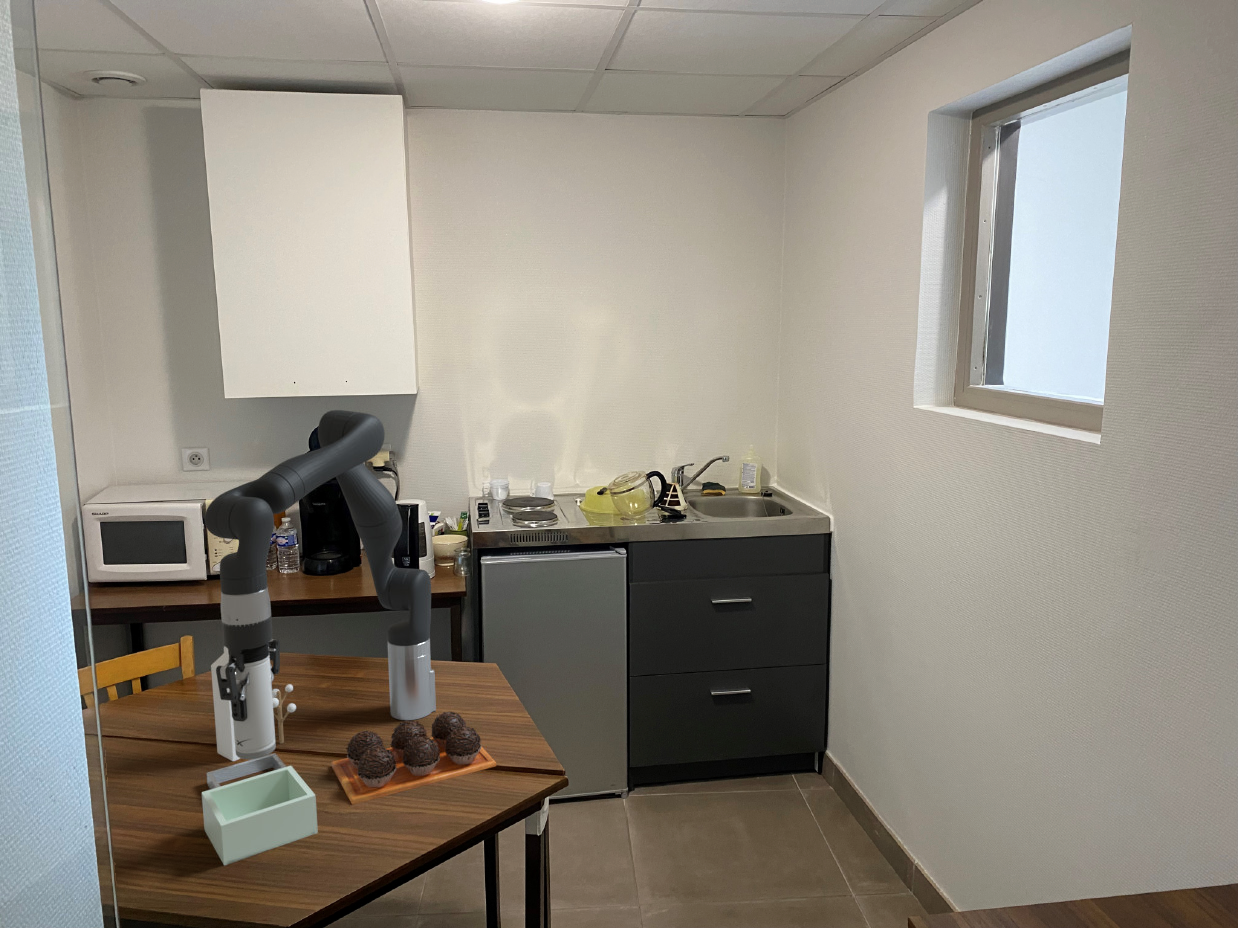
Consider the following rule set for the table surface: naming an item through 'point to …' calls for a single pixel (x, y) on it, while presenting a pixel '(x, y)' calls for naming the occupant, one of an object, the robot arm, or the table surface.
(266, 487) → the robot arm
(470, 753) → the chocolate truffle
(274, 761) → the collar
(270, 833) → the bin
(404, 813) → the table surface
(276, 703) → the cotton branch
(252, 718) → the travel mug
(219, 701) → the milk
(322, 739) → the table surface
